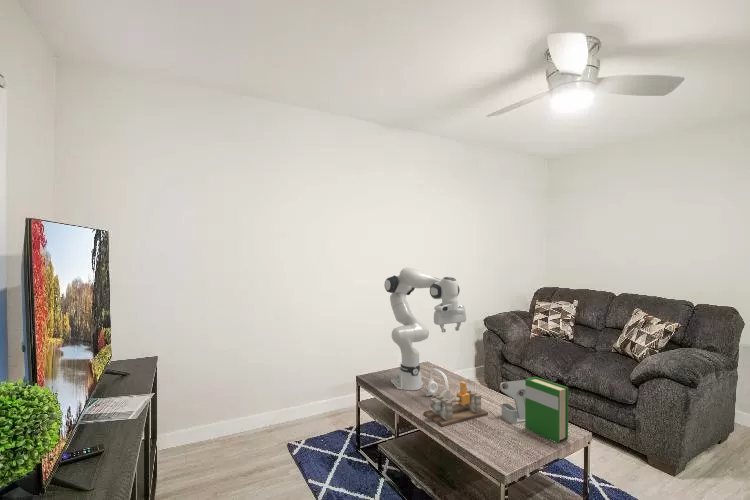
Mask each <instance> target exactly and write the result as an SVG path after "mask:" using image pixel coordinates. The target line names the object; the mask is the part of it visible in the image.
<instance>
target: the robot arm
mask: <svg viewBox="0 0 750 500" xmlns="http://www.w3.org/2000/svg"><path fill="white" fill-rule="evenodd" d="M384 289H385V291H386V292H387V293H390V297H389V301H390V306H391V309H392V312H393V316H394V318H395V320H396V321H397V322H398V323H400V324H402V325H401V326H400V325H399V326H397V327H395V328H393V329H392V331H391V339H392V341H393V342H394V343H395V344H396V345H397V346H398V347H399V349H400V353H401V363H400V368H399V369H398V370H397V371H396V372H395V373H394V377H393V378H391V379H390V382H391V384H394V387H395V388H396V389H397V390H403V391H404V390H405V391H416V390H420V389H422V387H423V385H424V382H423V380H422V372H421V364H420V352H419V350H417V348H415V347H413V343H420V342H423V341H425V340H427V339H428V338H429V334H430V332H429V328H428V326H427V325H425V324H423V323H422V322H421V321H420V320H418V319H417V318H416V316H414V314H413V313H412V310H411V308H410V305H409V302H408V301H407V296H410V295H411V293H412V292H414V290H415V289H429V294H430V296H431V298H432V299H434V300H441V303H439V304H438V305H435V306H434V313H433V323H434V324H435V325H437V326H439V328H440V329H441V333H446V328H445V325H449V324H456V326H455V327H454V331H457V332H458V331H460V327H461V325H462V323H465V322H466V321H467V313H466V308H465V306H464V305H459V299H458V296H459V294H460V286H459V284H458V281H457V279H456V278H454V277H451V276H445V277H442V279H440V278H437V277H434V276H432V275H429V274H427V273H424V272H423V271H420V270H417V269H415V268H411V267H403V268H402V269H401V270H400V272H399V275H398V276H397V275H393V276H389V277H387V278H386V279H385V281H384Z"/></svg>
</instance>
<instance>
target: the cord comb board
mask: <svg viewBox="0 0 750 500" xmlns="http://www.w3.org/2000/svg"><path fill="white" fill-rule="evenodd" d="M466 393H468V394H470V403H469V404H465V405H462V404H460V403H458V402H457V401H461V397H457V396H456V397H453V398H452V397H451V399H446V398H445V399H443V397H442V396H440V394H439V393H437V392H436V393H435V394H432V395H431V397H432V398H430V408H431V409H429V410H426V411H423V416H425V417H426V418H428V419H429V420H430V421H432V422H434V423H435V424H437V425H438V426H440V427H441V428H443V427H444V428H445V427H448V426H452V425H456V424H459V423H463V422H466V421H467V422H468V421H470V420H475V419H478V418H482V417H485V416H489V411H486V410H485V409H483V408H482V395H481V394H479V393H477V392H475V391H472V390H471V389H468V388H467V387H466ZM453 403H455V404H453Z"/></svg>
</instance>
